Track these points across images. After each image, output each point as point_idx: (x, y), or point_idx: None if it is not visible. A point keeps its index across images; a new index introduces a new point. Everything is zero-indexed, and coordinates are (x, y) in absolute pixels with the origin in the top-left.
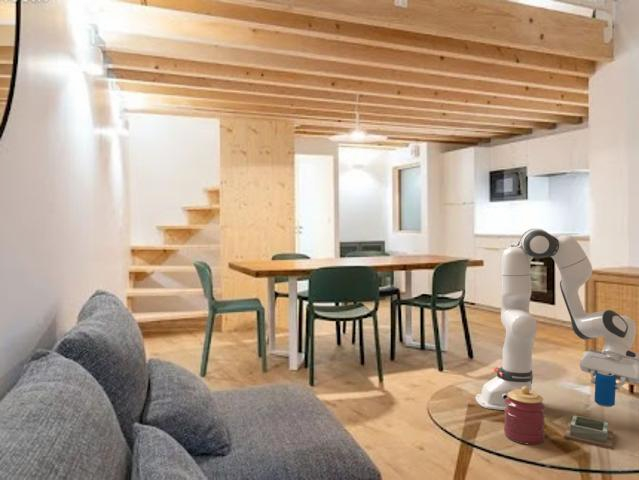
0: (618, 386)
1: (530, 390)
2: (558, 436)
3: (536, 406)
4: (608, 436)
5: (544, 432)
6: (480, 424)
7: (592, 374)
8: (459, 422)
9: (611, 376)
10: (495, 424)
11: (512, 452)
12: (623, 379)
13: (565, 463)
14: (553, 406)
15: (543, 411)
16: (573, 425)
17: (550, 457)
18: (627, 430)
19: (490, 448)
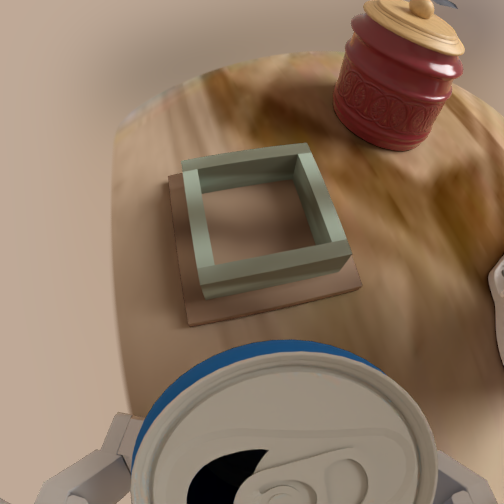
0: (117, 418)
1: (433, 30)
2: (328, 164)
3: (363, 14)
4: (191, 248)
5: (346, 110)
6: (464, 127)
7: (451, 475)
8: (481, 118)
9: (166, 415)
10: (456, 143)
11: (341, 57)
12: (52, 493)
13: (247, 65)
14: (466, 429)
15: (359, 46)
16: (297, 146)
17: (281, 68)
18: None
19: None
